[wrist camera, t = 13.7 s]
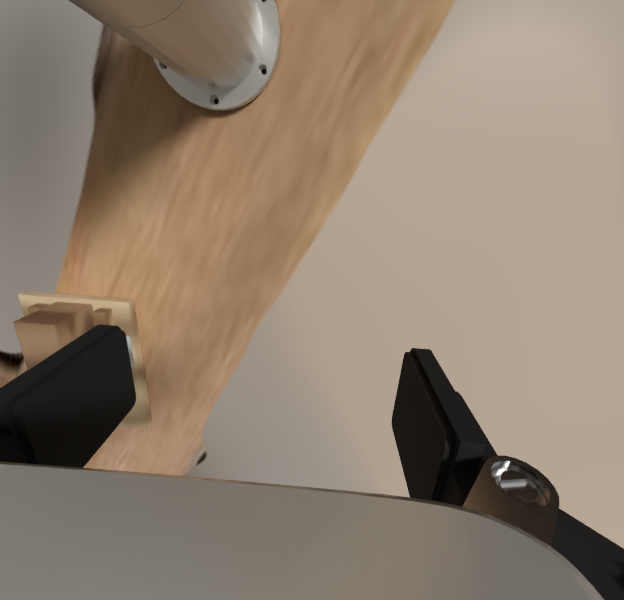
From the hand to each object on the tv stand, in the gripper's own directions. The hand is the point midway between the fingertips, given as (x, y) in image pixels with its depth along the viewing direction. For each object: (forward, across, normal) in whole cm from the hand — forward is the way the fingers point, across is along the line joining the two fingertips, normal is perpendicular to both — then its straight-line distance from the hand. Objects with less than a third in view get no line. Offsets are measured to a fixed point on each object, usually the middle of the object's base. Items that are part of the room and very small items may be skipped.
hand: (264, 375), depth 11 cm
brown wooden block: (+27, +29, +17) cm, 43 cm away
